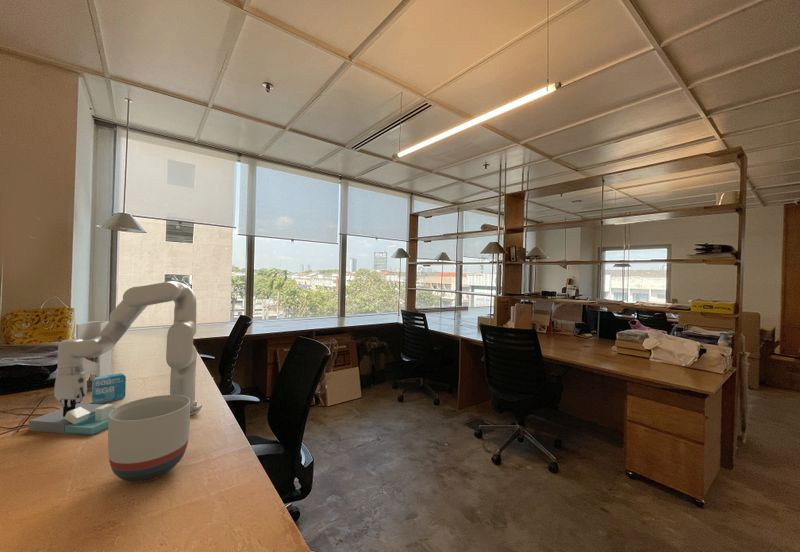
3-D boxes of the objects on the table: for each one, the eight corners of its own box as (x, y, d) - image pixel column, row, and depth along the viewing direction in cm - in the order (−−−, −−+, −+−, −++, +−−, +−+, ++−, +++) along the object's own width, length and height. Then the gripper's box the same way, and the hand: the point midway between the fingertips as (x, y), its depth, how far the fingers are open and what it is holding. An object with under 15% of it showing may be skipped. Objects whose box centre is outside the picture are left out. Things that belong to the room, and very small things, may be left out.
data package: (92, 405, 155) (93, 379, 155) (91, 402, 158) (92, 377, 158) (125, 398, 164) (125, 374, 164) (123, 395, 167) (124, 372, 167)
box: (134, 415, 144) (135, 409, 144) (92, 435, 126) (92, 427, 126) (110, 414, 145) (110, 407, 145) (64, 433, 127) (64, 425, 127)
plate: (109, 414, 145) (110, 405, 145) (64, 433, 127) (64, 423, 127) (77, 411, 147) (78, 403, 147) (28, 430, 129) (28, 420, 129)
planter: (177, 450, 117) (178, 390, 117) (198, 472, 104) (200, 405, 104) (100, 476, 101) (102, 407, 101) (114, 507, 88) (116, 427, 88)
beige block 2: (106, 415, 142) (113, 415, 142) (95, 420, 138) (101, 420, 137) (107, 403, 142) (113, 404, 142) (95, 408, 138) (101, 408, 137)
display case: (88, 383, 183) (89, 321, 183) (111, 382, 187) (112, 321, 187) (74, 390, 172) (76, 324, 173) (99, 389, 176) (100, 324, 176)
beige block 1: (87, 418, 134) (90, 412, 133) (74, 424, 129) (77, 417, 129) (77, 413, 134) (80, 406, 134) (64, 418, 129) (67, 411, 129)
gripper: (96, 368, 135) (95, 413, 135) (65, 366, 137) (63, 410, 136) (76, 373, 127) (75, 421, 127) (43, 371, 129) (41, 418, 129)
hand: (69, 415), depth 132 cm, fingers closed
